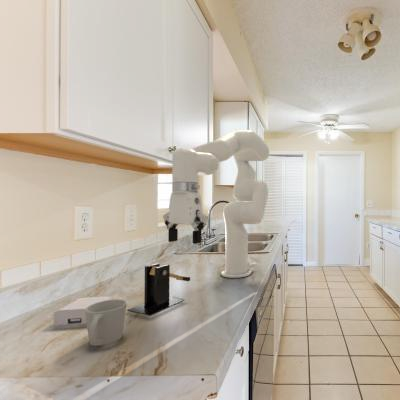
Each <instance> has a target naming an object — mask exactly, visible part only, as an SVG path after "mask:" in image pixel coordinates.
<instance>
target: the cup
mask: <svg viewBox="0 0 400 400" xmlns="http://www.w3.org/2000/svg"><path fill="white" fill-rule="evenodd" d="M126 312H127V301H126V300H125V299H117V298H115V299H113V300H106V301H102V302H98V303H95V304H92V305H90V306H88V307H87V308H86V309H85V314H86V323H87V324H86V329H87V335H88V341H89V344H90V346H93V347H99V346H100V347H101V346H102V347H103V346H107V345H110V344H113V343H115V342H118V341H119V340H120V339H121V338H122V337H123V331H124V325H125V320H126Z"/></svg>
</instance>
